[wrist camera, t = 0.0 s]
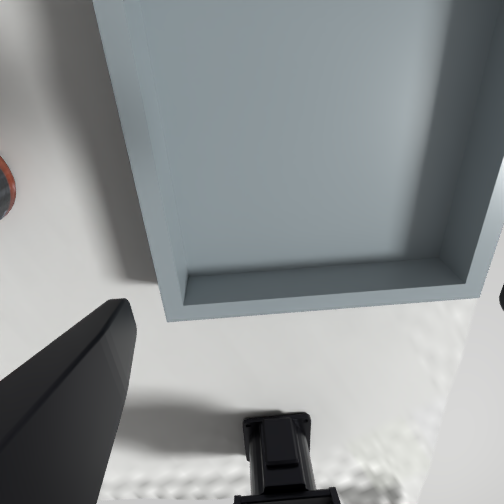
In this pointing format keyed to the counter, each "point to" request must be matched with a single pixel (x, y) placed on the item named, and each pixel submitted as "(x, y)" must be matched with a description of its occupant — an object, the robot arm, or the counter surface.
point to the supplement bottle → (6, 189)
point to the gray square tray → (311, 148)
